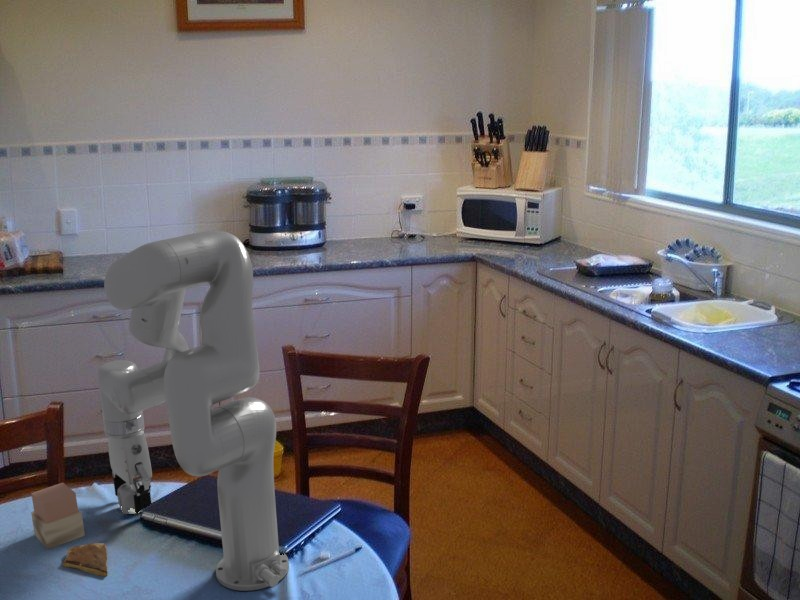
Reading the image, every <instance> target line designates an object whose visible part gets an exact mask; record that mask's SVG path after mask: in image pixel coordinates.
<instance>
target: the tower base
mask: <svg viewBox="0 0 800 600" xmlns="http://www.w3.org/2000/svg"><path fill="white" fill-rule="evenodd" d="M30 514H31V519H32V521H31V522H32V526H33V532H34V536H35V538H37V539H38V541H39V542H40V543H42V545H43V546H44V547H45V548H46V549H47V550H50V549H53V548H56V547H58V546H61V545H64V544H66V543H69V542H71V541H74V540H77V539H79V538H80V539H81V538H83V537H85V536H86V534H85V533H86V532H85V526H84V519H83V512H82V511H81V510H80V509H78V512H77V513H74V514H71V515H69V516H66V517H63V518H60V519H58V520H55V521H52V522H49V523H46V522H44V521H43V520H42V519H41V518H40V517H39V516H38V515H37V514H36V513H35V512H34V510H33V511H31V513H30Z"/></svg>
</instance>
